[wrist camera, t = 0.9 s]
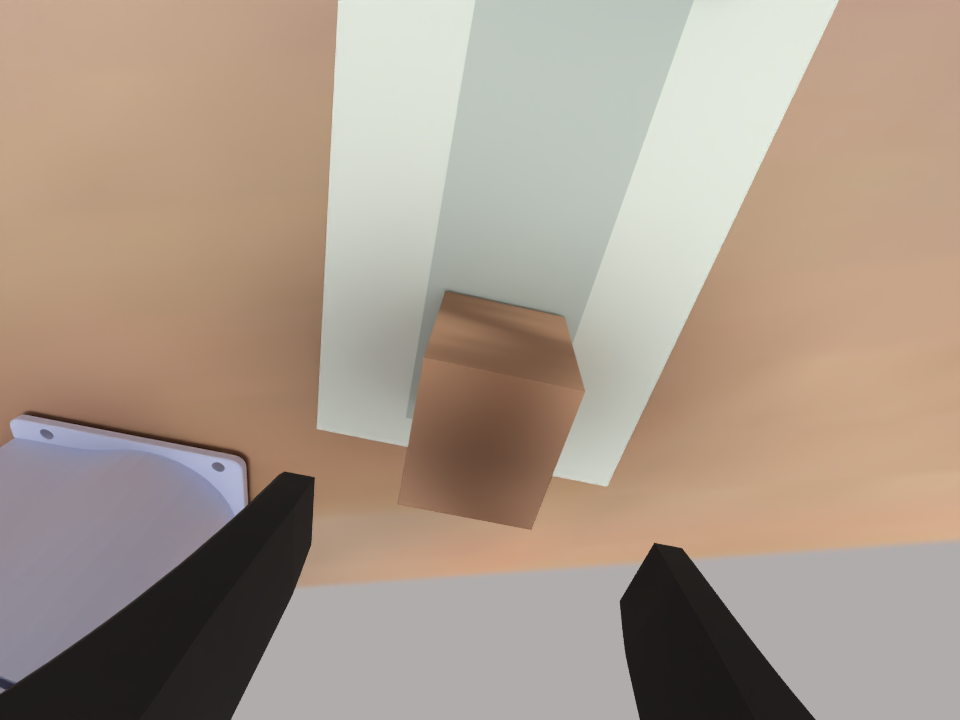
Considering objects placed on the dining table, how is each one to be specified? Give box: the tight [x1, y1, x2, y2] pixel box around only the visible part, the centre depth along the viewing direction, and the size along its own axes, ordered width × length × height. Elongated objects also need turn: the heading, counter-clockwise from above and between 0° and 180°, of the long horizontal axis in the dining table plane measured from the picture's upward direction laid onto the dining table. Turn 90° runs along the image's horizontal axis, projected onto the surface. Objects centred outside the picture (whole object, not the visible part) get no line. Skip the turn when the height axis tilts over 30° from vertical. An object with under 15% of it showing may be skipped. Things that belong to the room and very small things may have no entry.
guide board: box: [317, 0, 839, 487], centre depth 12 cm, size 12×21×4 cm, turn 168°
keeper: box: [398, 291, 585, 530], centre depth 14 cm, size 4×5×4 cm
